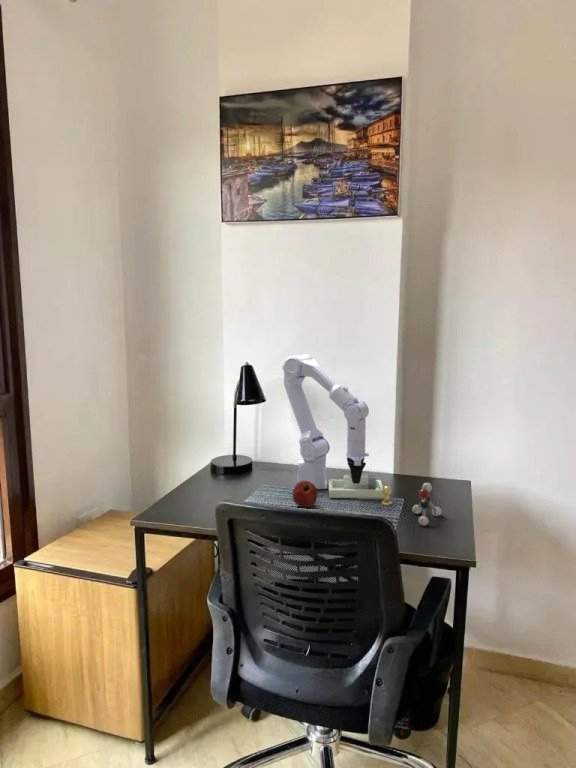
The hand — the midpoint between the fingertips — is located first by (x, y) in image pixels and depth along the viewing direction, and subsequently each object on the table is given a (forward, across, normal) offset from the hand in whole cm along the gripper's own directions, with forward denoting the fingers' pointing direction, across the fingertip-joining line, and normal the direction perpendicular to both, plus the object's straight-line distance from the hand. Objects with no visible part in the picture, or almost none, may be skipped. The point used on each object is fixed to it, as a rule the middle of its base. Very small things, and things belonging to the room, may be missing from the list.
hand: (355, 481), depth 188 cm
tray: (+4, 0, 0) cm, 4 cm away
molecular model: (+4, -22, -18) cm, 29 cm away
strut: (+3, 0, -1) cm, 4 cm away
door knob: (+4, -10, -9) cm, 14 cm away
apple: (+4, -12, +16) cm, 21 cm away
